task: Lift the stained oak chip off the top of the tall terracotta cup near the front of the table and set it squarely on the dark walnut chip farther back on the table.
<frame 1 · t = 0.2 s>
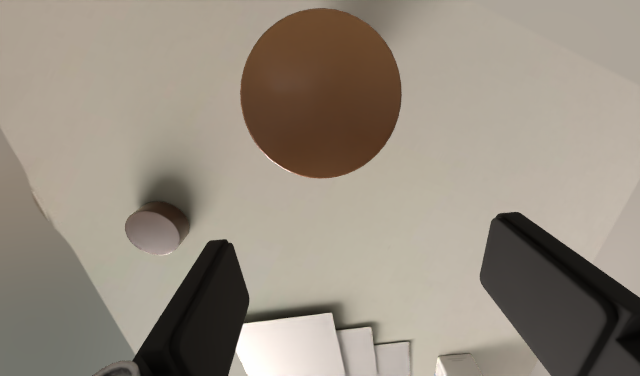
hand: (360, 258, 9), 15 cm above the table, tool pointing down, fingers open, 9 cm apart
ink box: (450, 369, 38), on the table
paper stack: (329, 367, 37), on the table
oak chip: (320, 99, 11), point 11 cm above the table, touching terracotta cup
walnut chip: (164, 222, 26), on the table
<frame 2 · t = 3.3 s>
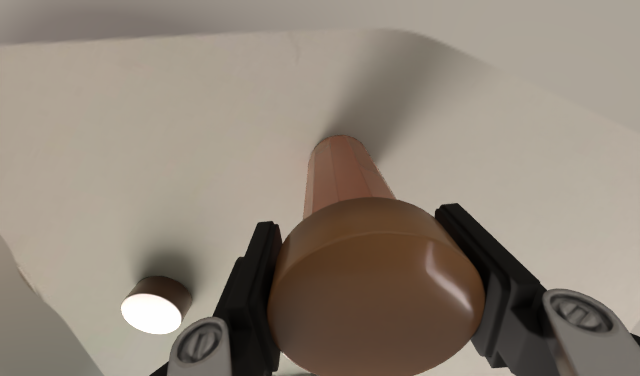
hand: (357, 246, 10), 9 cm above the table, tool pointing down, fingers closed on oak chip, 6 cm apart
oak chip: (364, 274, 9), point 11 cm above the table, touching gripper, terracotta cup
terracotta cup: (339, 164, 19), on the table
walnut chip: (164, 296, 24), on the table
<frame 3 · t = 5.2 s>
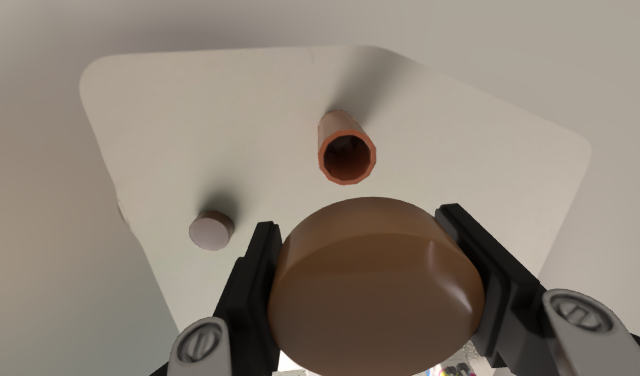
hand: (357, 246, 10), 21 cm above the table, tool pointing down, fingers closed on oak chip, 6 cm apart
ink box: (437, 347, 46), on the table
paper stack: (338, 345, 45), on the table
oak chip: (364, 273, 9), point 23 cm above the table, touching gripper
terracotta cup: (337, 129, 29), on the table
walnut chip: (215, 226, 35), on the table
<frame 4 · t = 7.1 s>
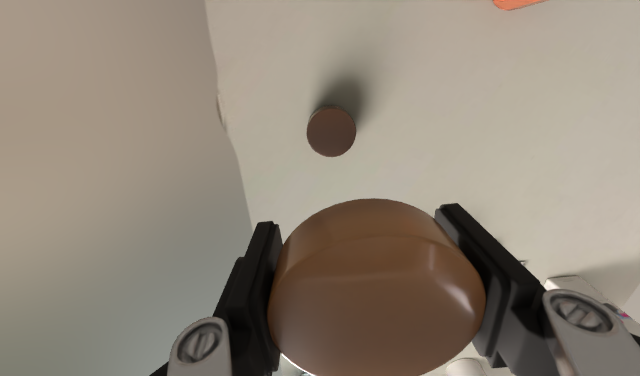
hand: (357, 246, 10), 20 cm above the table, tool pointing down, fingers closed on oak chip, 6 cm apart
ink box: (553, 294, 40), on the table
mug 2: (316, 369, 49), on the table
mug: (459, 372, 49), on the table
oak chip: (364, 275, 9), point 22 cm above the table, touching gripper
walnut chip: (330, 129, 28), on the table
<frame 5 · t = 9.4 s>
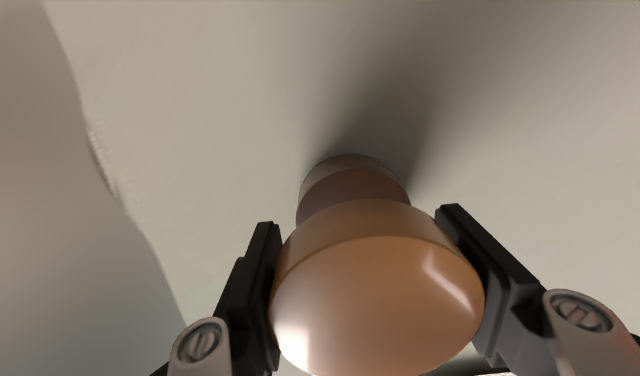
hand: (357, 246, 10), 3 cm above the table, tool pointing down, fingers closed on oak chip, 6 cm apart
oak chip: (364, 275, 9), point 5 cm above the table, touching gripper
walnut chip: (348, 201, 13), on the table
when the fingers open (0 cm above the table, at t = 10.8 s): oak chip stays where it is, resting on walnut chip.
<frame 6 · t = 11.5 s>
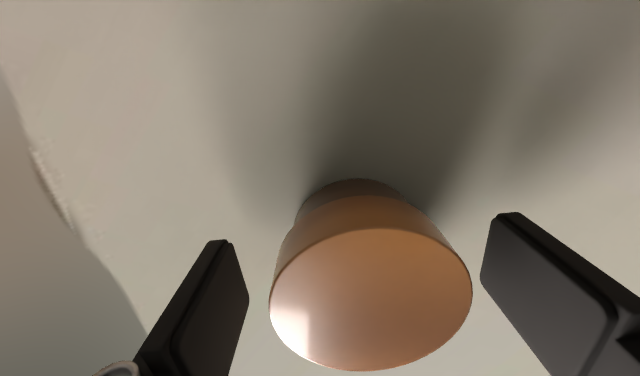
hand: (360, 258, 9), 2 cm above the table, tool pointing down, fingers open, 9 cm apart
oak chip: (360, 268, 9), point 2 cm above the table, touching walnut chip
walnut chip: (353, 233, 11), on the table, touching oak chip
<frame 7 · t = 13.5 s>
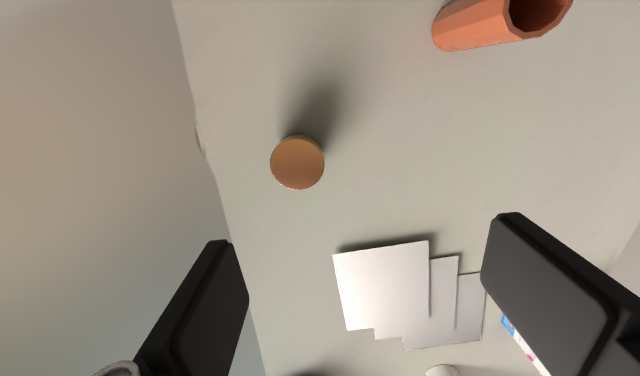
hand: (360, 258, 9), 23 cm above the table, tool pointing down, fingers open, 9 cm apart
ink box: (519, 302, 43), on the table
paper stack: (413, 299, 42), on the table
oak chip: (298, 160, 30), point 2 cm above the table, touching walnut chip
terracotta cup: (453, 27, 26), on the table
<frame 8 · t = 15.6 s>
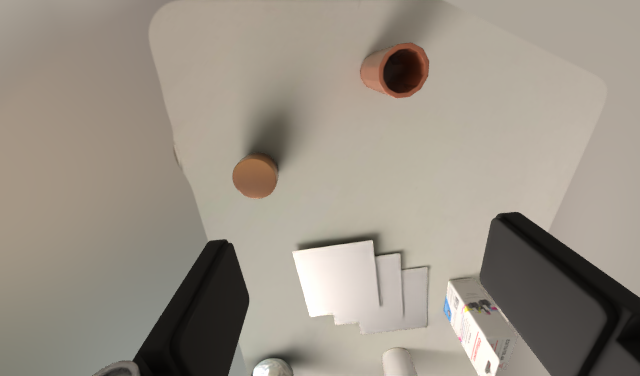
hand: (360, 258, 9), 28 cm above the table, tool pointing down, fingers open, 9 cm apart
ink box: (457, 293, 49), on the table
mug 2: (273, 358, 58), on the table
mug: (394, 360, 58), on the table
paper stack: (365, 290, 49), on the table
oak chip: (257, 174, 36), point 2 cm above the table, touching walnut chip
terracotta cup: (377, 71, 32), on the table
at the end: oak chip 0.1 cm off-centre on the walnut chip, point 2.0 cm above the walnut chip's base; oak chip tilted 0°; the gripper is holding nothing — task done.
